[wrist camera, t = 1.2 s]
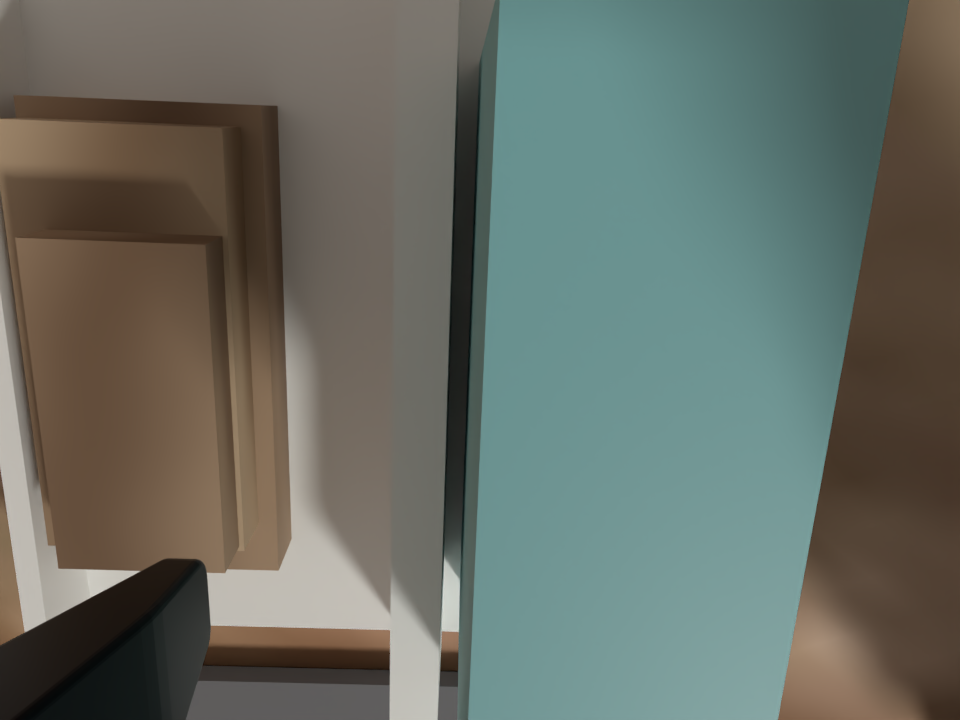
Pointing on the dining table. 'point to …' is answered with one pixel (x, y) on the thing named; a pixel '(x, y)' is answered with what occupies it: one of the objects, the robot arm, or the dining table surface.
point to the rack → (307, 292)
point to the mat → (303, 694)
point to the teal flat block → (657, 343)
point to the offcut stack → (152, 327)
